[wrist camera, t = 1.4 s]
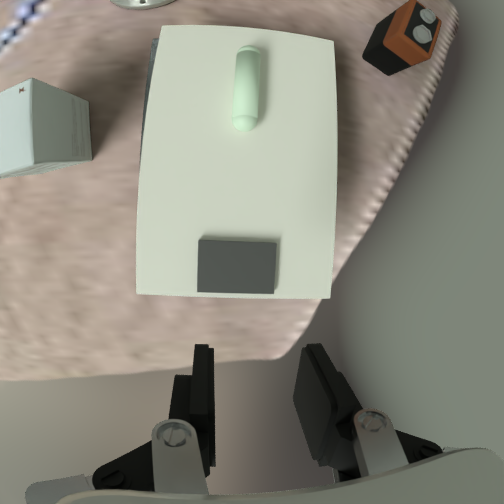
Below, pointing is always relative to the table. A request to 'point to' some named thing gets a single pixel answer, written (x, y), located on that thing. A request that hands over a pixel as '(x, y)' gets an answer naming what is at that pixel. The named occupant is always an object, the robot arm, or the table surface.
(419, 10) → the battery
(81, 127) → the supplement box
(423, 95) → the table surface
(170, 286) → the level plate
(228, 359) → the table surface
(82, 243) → the table surface
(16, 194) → the table surface
